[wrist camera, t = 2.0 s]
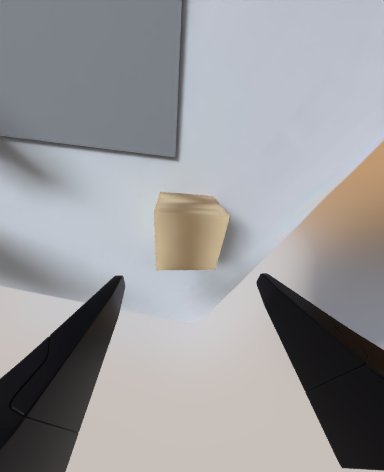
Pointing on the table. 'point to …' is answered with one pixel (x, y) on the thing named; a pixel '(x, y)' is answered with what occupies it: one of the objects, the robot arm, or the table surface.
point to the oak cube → (188, 231)
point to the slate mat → (91, 73)
